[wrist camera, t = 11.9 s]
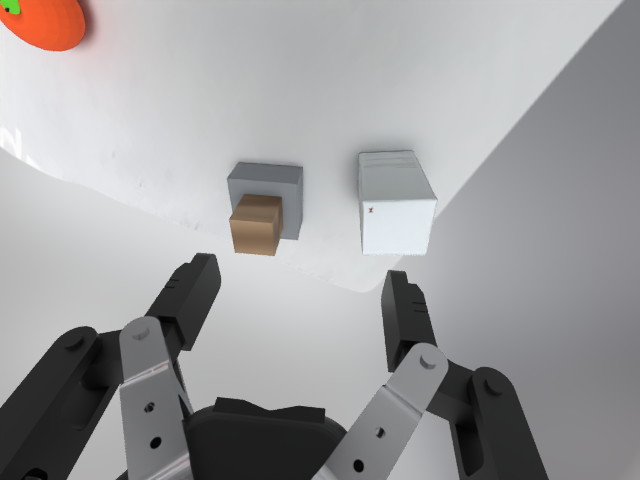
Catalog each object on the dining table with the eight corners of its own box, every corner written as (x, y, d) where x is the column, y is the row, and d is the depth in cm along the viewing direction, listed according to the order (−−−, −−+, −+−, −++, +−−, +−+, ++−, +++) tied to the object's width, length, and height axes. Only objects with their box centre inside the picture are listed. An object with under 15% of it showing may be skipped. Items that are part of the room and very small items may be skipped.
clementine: (26, -65, 28) (-55, -84, 22) (102, -21, 30) (44, -28, 24) (35, 26, 33) (-30, 29, 27) (100, 60, 34) (51, 70, 29)
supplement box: (357, 200, 43) (359, 256, 33) (358, 151, 38) (361, 199, 29) (408, 199, 42) (426, 257, 32) (416, 149, 38) (439, 199, 28)
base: (238, 162, 41) (226, 178, 37) (302, 167, 40) (297, 183, 37) (246, 215, 46) (236, 234, 42) (302, 220, 46) (297, 240, 42)
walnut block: (244, 193, 38) (229, 219, 33) (281, 196, 38) (272, 223, 33) (248, 224, 41) (235, 252, 36) (283, 227, 41) (274, 256, 36)
